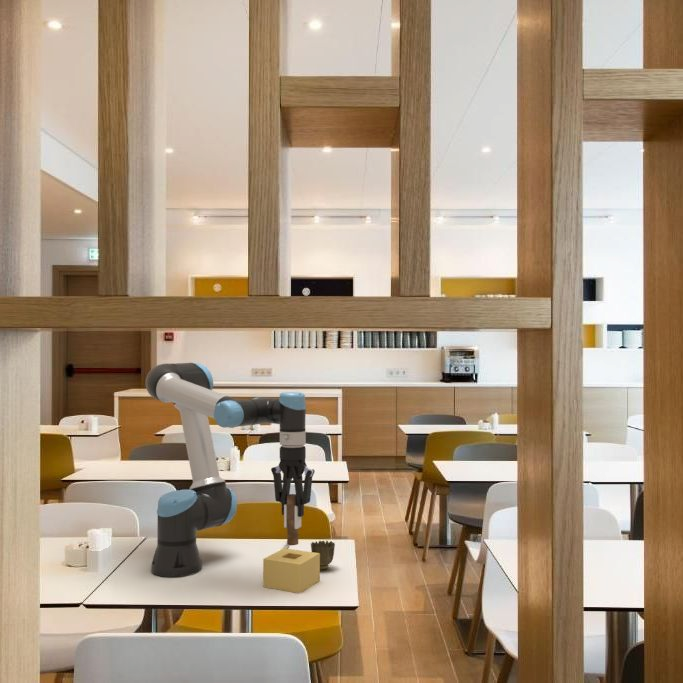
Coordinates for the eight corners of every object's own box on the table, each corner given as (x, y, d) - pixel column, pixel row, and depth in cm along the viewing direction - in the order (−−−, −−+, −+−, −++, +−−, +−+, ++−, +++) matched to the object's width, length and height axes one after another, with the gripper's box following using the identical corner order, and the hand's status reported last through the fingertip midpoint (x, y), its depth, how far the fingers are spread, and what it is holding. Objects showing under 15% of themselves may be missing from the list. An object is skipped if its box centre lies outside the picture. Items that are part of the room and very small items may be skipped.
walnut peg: (285, 544, 209) (284, 495, 209) (290, 541, 211) (290, 493, 212) (295, 545, 207) (294, 496, 207) (300, 543, 210) (299, 494, 210)
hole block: (263, 586, 207) (263, 558, 207) (283, 574, 218) (284, 548, 218) (300, 593, 202) (300, 564, 202) (319, 580, 212) (319, 553, 212)
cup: (310, 565, 227) (310, 540, 227) (333, 565, 227) (334, 539, 227) (311, 573, 219) (311, 546, 219) (335, 572, 220) (335, 546, 220)
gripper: (262, 445, 210) (262, 527, 209) (310, 448, 203) (311, 533, 203) (275, 442, 216) (275, 521, 216) (322, 445, 210) (323, 527, 209)
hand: (292, 526), depth 209 cm, fingers closed on walnut peg, 3 cm apart
